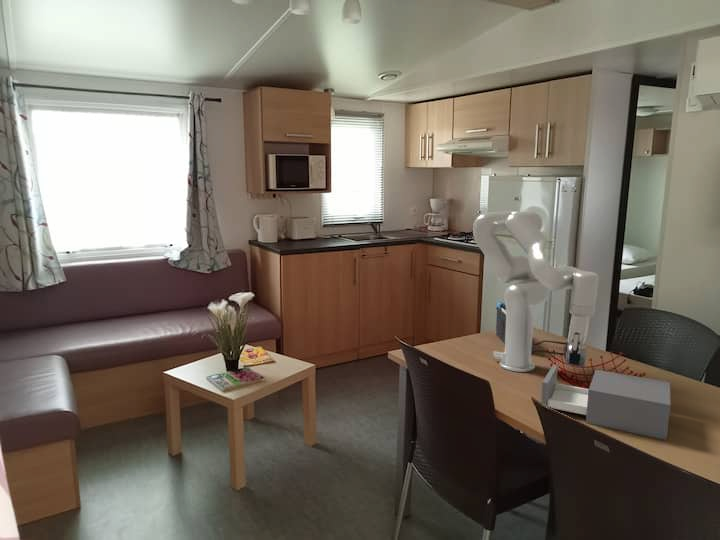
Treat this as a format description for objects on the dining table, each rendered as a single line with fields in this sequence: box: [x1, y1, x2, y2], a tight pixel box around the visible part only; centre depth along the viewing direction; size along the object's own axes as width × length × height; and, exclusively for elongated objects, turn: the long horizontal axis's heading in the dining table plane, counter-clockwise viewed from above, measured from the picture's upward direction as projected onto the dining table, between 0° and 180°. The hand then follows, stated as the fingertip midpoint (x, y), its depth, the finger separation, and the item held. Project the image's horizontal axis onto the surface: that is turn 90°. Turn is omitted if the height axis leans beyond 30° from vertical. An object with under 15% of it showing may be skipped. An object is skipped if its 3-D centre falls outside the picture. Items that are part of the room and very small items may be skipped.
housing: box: [585, 369, 671, 441], centre depth 151 cm, size 20×18×10 cm
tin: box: [565, 342, 588, 368], centre depth 173 cm, size 6×6×6 cm
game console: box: [495, 301, 506, 344], centre depth 221 cm, size 28×6×15 cm, turn 3°
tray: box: [540, 364, 589, 416], centre depth 158 cm, size 19×17×8 cm
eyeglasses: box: [531, 339, 569, 359], centre depth 210 cm, size 15×15×5 cm
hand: (575, 360), depth 174 cm, fingers closed on tin, 6 cm apart
